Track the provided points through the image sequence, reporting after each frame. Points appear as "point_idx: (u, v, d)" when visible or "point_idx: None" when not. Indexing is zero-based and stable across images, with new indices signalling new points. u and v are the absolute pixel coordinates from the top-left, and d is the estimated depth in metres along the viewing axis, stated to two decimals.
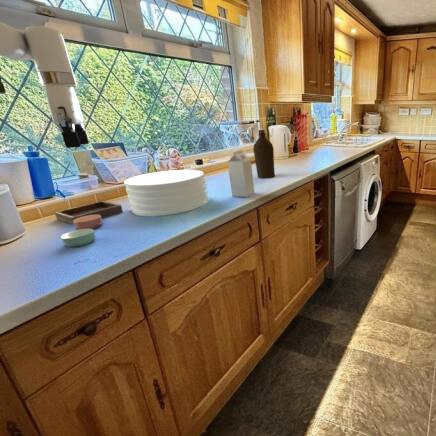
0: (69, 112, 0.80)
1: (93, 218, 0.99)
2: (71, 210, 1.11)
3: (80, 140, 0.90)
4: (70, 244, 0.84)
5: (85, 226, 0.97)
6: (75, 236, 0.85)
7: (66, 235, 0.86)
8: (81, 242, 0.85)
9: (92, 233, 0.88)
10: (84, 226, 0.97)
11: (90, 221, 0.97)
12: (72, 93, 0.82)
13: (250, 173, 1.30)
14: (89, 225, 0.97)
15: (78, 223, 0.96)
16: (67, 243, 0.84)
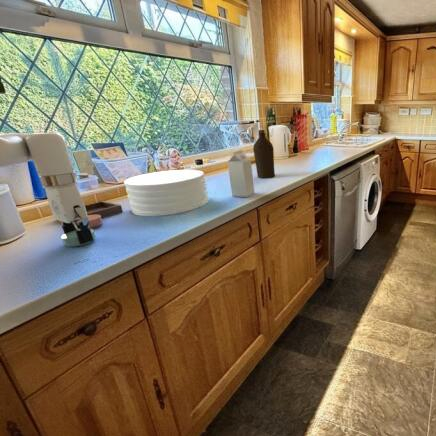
0: (83, 209, 0.83)
1: (93, 218, 0.99)
2: None
3: None
4: (70, 244, 0.84)
5: None
6: (75, 236, 0.85)
7: (66, 235, 0.86)
8: None
9: (92, 233, 0.88)
10: None
11: (90, 221, 0.97)
12: None
13: (250, 173, 1.30)
14: (89, 225, 0.97)
15: (78, 223, 0.96)
16: (67, 243, 0.84)
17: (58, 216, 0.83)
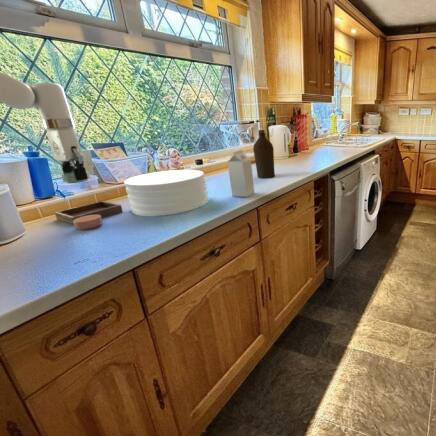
0: (79, 150, 0.99)
1: (93, 218, 0.99)
2: (71, 210, 1.11)
3: None
4: (68, 180, 1.00)
5: (85, 226, 0.97)
6: (72, 174, 1.00)
7: (65, 173, 1.01)
8: None
9: (87, 173, 1.03)
10: (84, 226, 0.97)
11: (90, 221, 0.97)
12: None
13: (250, 173, 1.30)
14: (89, 225, 0.97)
15: (78, 223, 0.96)
16: (66, 179, 1.00)
17: (58, 156, 0.98)
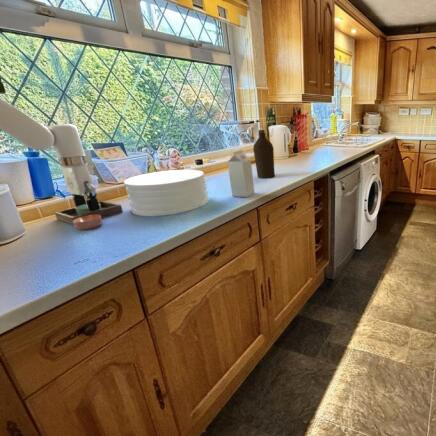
0: (92, 184, 1.06)
1: (93, 218, 0.99)
2: (71, 210, 1.11)
3: (80, 203, 1.12)
4: (82, 213, 1.07)
5: (85, 226, 0.97)
6: (86, 207, 1.08)
7: (79, 207, 1.09)
8: None
9: (99, 206, 1.11)
10: (84, 226, 0.97)
11: (90, 221, 0.97)
12: None
13: (250, 173, 1.30)
14: (89, 225, 0.97)
15: (78, 223, 0.96)
16: (80, 213, 1.07)
17: (72, 190, 1.06)
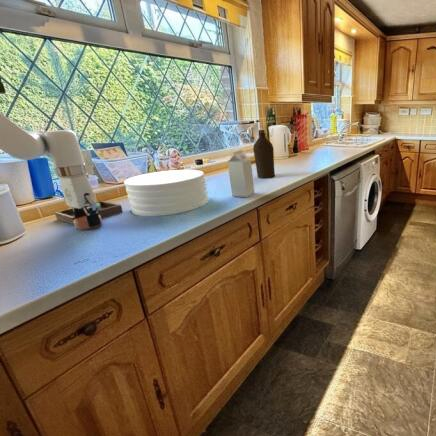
0: (92, 196, 0.96)
1: None
2: (71, 210, 1.11)
3: None
4: None
5: (85, 226, 0.97)
6: None
7: None
8: None
9: (99, 206, 1.11)
10: (84, 226, 0.97)
11: None
12: None
13: (250, 173, 1.30)
14: None
15: (78, 223, 0.96)
16: None
17: (70, 202, 0.95)
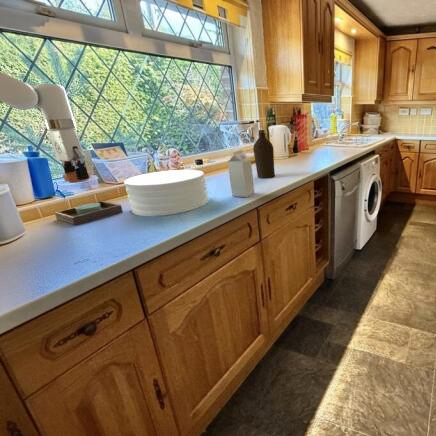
0: (81, 150, 1.00)
1: None
2: (71, 210, 1.11)
3: None
4: (82, 213, 1.07)
5: (74, 179, 1.01)
6: (86, 207, 1.08)
7: (79, 207, 1.09)
8: None
9: (99, 206, 1.11)
10: (73, 179, 1.01)
11: None
12: None
13: (250, 173, 1.30)
14: None
15: (67, 175, 1.01)
16: (80, 213, 1.07)
17: (60, 156, 1.00)
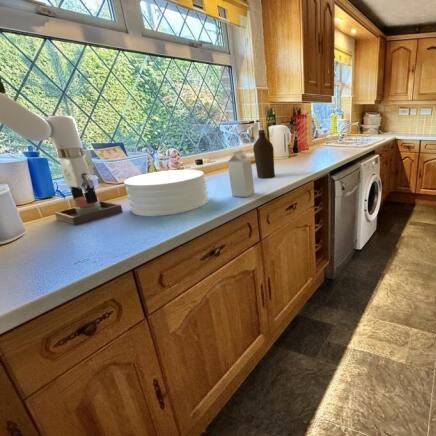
0: (89, 176, 1.05)
1: None
2: (71, 210, 1.11)
3: (78, 196, 1.11)
4: (82, 213, 1.07)
5: (83, 205, 1.07)
6: None
7: None
8: None
9: (99, 206, 1.11)
10: (82, 205, 1.07)
11: None
12: None
13: (250, 173, 1.30)
14: (87, 204, 1.07)
15: (77, 202, 1.06)
16: (80, 213, 1.07)
17: (69, 182, 1.05)
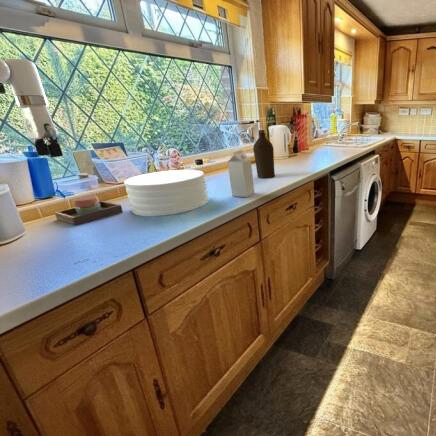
0: (53, 128, 0.99)
1: (91, 198, 1.09)
2: (71, 210, 1.11)
3: (43, 152, 1.05)
4: (82, 213, 1.07)
5: (83, 205, 1.07)
6: None
7: None
8: None
9: (99, 206, 1.11)
10: (82, 205, 1.07)
11: (88, 200, 1.07)
12: None
13: (250, 173, 1.30)
14: (87, 204, 1.07)
15: (77, 202, 1.06)
16: (80, 213, 1.07)
17: (31, 133, 0.98)
